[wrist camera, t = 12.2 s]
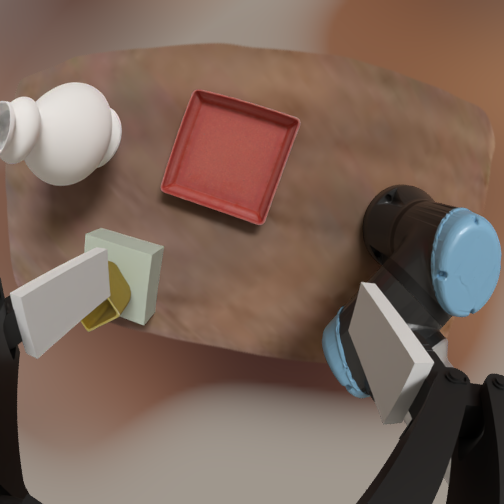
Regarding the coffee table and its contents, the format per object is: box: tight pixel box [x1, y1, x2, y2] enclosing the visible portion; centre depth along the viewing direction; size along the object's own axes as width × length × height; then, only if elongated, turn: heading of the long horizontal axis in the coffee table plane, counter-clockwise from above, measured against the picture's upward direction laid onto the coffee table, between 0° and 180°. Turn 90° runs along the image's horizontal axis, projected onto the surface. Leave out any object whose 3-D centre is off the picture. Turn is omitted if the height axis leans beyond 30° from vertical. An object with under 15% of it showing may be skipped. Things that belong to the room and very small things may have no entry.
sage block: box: [84, 228, 164, 325], centre depth 50 cm, size 14×14×6 cm
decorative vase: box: [0, 83, 122, 186], centre depth 34 cm, size 18×18×25 cm
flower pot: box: [81, 261, 131, 332], centre depth 43 cm, size 9×9×9 cm
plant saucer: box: [161, 89, 301, 225], centre depth 44 cm, size 18×18×3 cm
